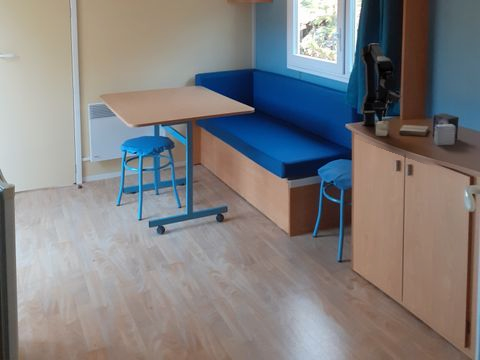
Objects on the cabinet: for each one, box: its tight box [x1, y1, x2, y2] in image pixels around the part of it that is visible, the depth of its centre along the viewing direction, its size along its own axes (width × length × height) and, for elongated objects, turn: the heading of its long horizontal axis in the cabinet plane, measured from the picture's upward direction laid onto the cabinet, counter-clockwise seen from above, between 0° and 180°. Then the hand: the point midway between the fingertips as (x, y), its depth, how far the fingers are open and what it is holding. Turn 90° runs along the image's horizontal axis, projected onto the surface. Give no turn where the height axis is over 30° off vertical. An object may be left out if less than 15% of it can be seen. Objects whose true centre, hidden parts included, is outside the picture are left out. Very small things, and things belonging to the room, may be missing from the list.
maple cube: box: [375, 120, 389, 137], centre depth 304 cm, size 5×5×6 cm
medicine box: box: [433, 124, 456, 146], centre depth 282 cm, size 8×4×9 cm, turn 92°
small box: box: [432, 113, 460, 140], centre depth 293 cm, size 11×6×10 cm, turn 23°
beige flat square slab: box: [398, 124, 429, 137], centre depth 306 cm, size 12×12×2 cm
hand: (382, 119), depth 302 cm, fingers open, 9 cm apart
